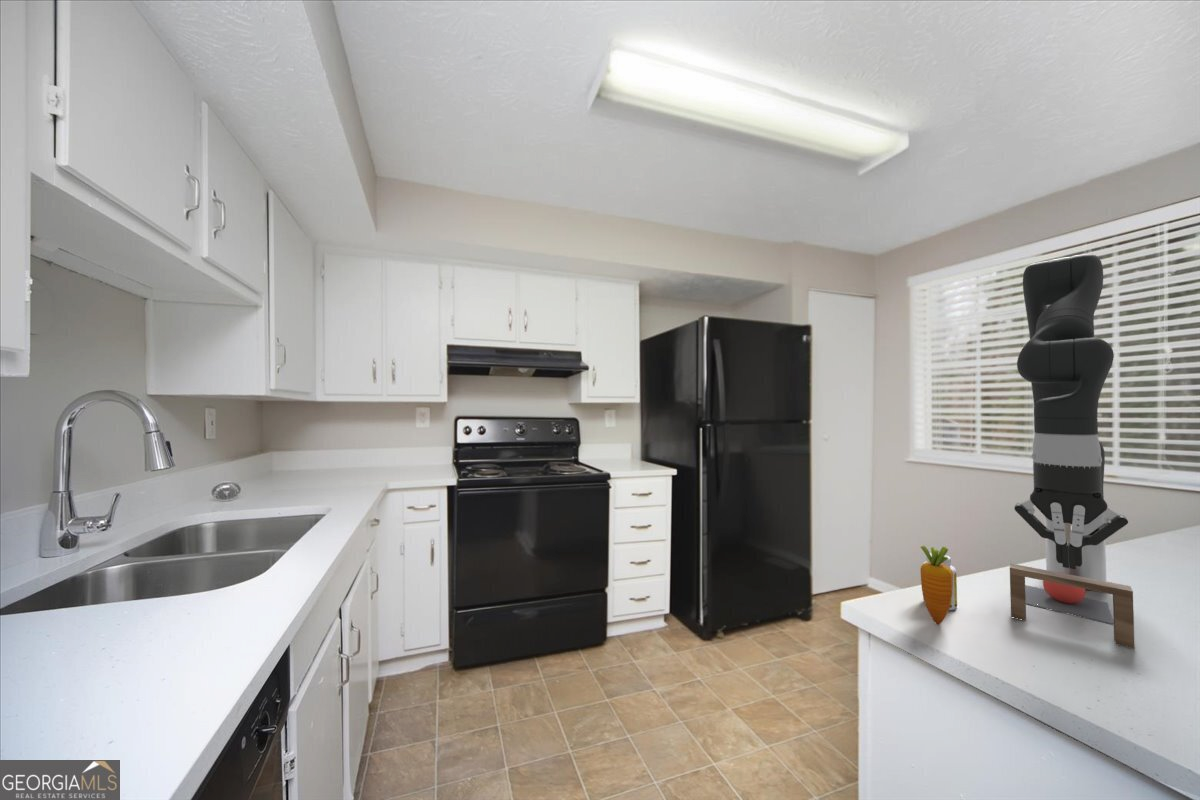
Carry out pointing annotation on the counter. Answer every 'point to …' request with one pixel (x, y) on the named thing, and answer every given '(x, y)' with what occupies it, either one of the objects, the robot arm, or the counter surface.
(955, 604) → the supplement bottle
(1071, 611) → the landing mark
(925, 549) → the carrot
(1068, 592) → the ball
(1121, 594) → the bridge
